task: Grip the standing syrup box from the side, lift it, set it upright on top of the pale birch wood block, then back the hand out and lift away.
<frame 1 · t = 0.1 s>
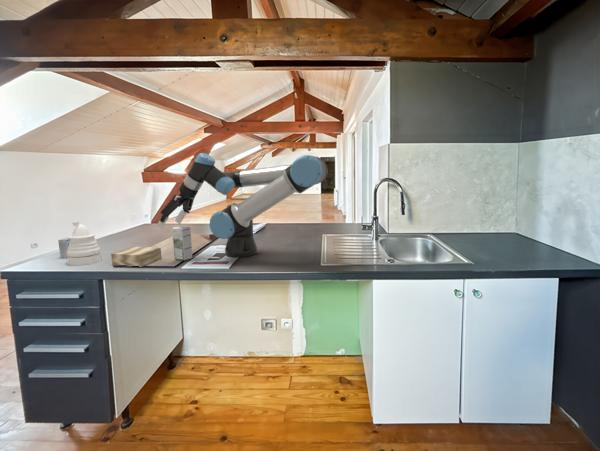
hand: (168, 224, 160), 15 cm above the worktop, tool tilted 35°, fingers open, 13 cm apart
honey pot: (85, 262, 158), on the worktop
birch block: (137, 261, 156), on the worktop
syrup box: (183, 259, 161), on the worktop
medicine box: (71, 256, 168), on the worktop
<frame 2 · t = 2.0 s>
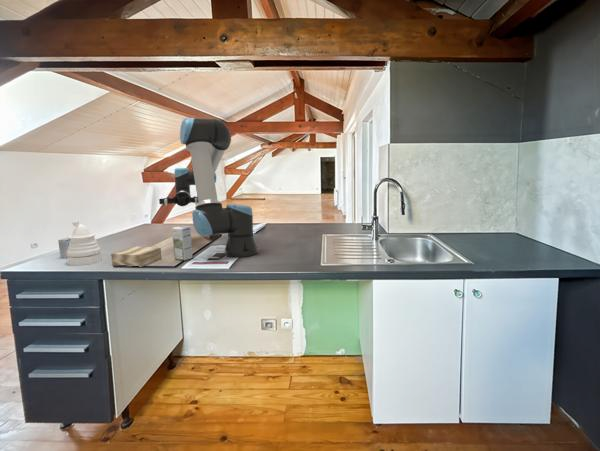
hand: (180, 202, 166), 25 cm above the worktop, tool horizontal, fingers open, 13 cm apart
nothing on the worktop moved.
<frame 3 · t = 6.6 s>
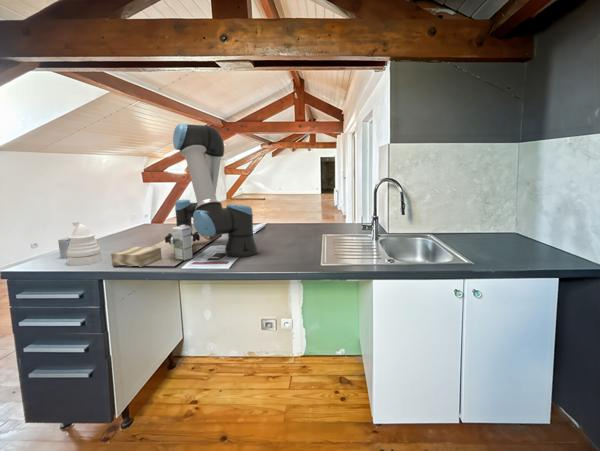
hand: (181, 242, 155), 9 cm above the worktop, tool horizontal, fingers closed on syrup box, 8 cm apart
syrup box: (183, 259, 161), on the worktop, touching gripper
everything else where it was.
when the fingers open (15 cm above the worktop, at t = 12.4 s): syrup box drops 1 cm, resting on birch block.
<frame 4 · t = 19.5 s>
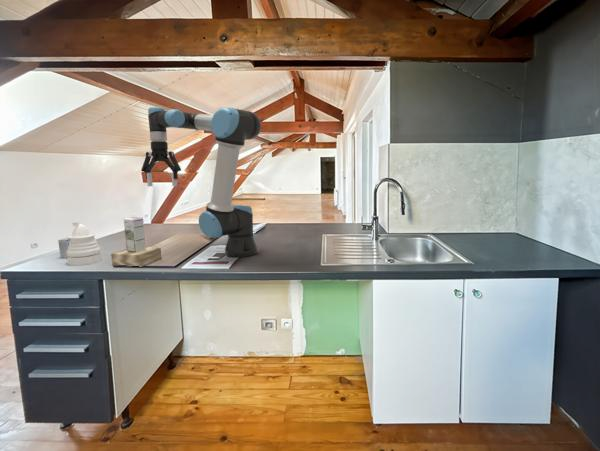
hand: (162, 186, 173), 32 cm above the worktop, tool pointing down, fingers open, 13 cm apart
syrup box: (136, 251, 155), point 5 cm above the worktop, touching birch block
everything else where it was.
at the end: syrup box inside the target area on the birch block (0.1 cm from its centre), point 4.8 cm above the birch block's base; syrup box tilted 0°; the gripper is holding nothing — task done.
